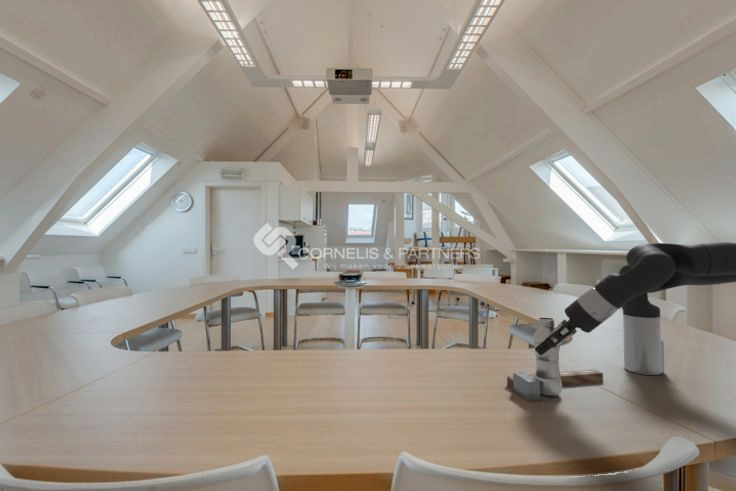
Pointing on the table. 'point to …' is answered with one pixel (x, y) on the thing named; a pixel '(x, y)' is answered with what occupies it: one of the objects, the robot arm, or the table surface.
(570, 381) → the walnut rail
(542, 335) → the plastic bottle
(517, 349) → the table surface
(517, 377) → the metal end stop
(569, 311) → the robot arm
